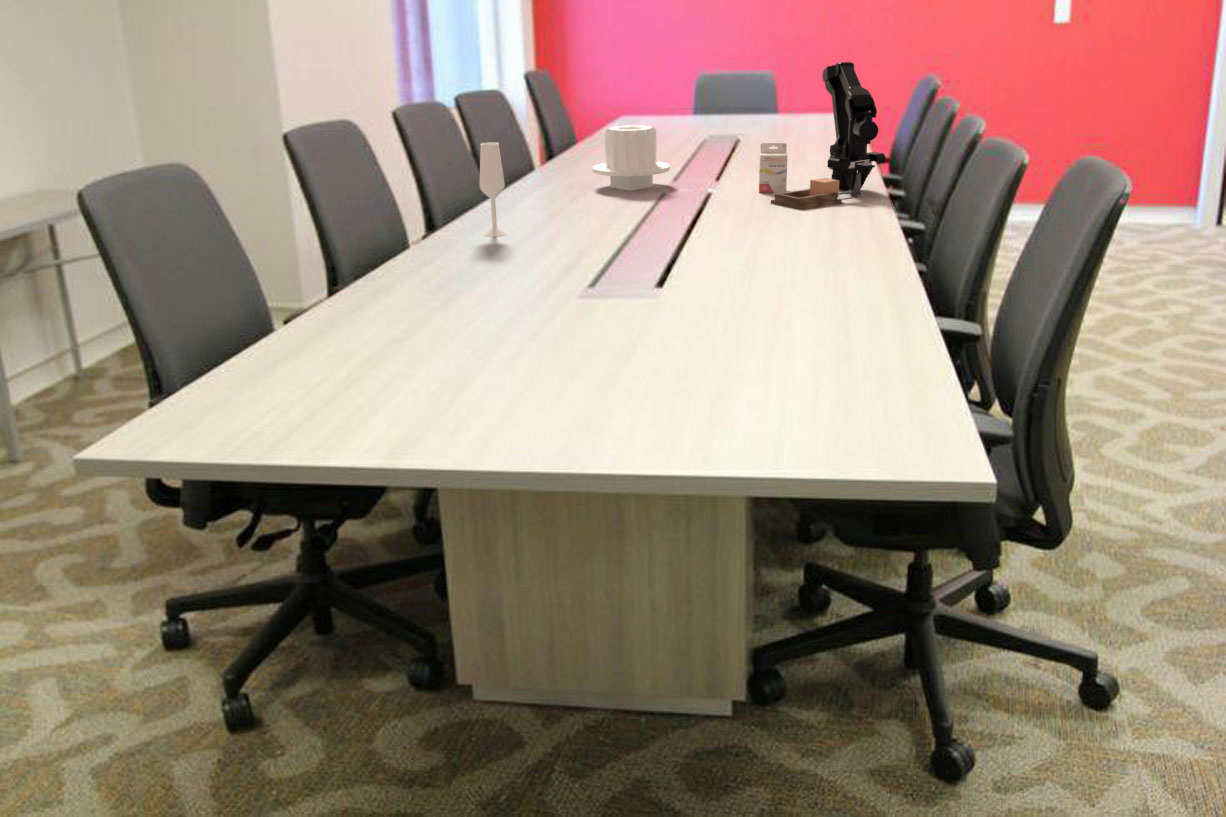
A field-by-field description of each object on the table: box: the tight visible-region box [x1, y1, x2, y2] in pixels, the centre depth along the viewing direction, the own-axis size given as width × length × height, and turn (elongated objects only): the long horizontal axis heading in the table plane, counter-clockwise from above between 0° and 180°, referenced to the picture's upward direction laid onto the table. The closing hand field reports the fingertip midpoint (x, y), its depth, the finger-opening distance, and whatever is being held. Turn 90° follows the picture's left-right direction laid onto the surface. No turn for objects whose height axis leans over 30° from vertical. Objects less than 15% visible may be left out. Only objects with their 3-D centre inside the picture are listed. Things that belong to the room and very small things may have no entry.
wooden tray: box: [770, 188, 843, 211], centre depth 345 cm, size 15×14×3 cm
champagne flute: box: [479, 141, 508, 238], centre depth 312 cm, size 7×7×24 cm
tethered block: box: [809, 172, 862, 198], centre depth 351 cm, size 17×6×6 cm, turn 122°
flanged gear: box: [592, 124, 671, 192], centre depth 377 cm, size 25×25×19 cm
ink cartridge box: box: [758, 142, 788, 194], centre depth 364 cm, size 9×5×15 cm, turn 84°
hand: (855, 189), depth 355 cm, fingers closed on tethered block, 3 cm apart
